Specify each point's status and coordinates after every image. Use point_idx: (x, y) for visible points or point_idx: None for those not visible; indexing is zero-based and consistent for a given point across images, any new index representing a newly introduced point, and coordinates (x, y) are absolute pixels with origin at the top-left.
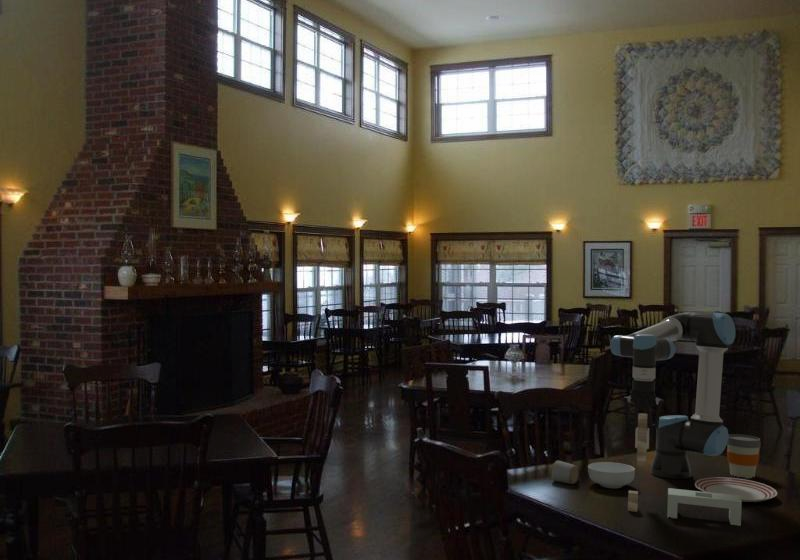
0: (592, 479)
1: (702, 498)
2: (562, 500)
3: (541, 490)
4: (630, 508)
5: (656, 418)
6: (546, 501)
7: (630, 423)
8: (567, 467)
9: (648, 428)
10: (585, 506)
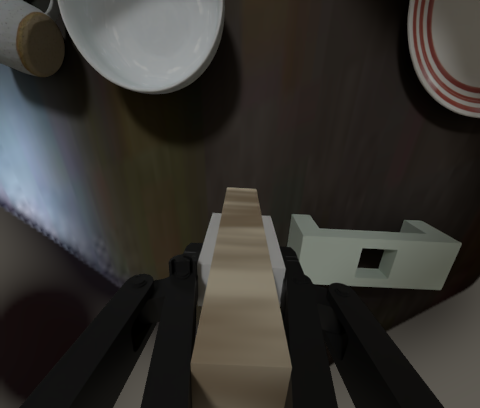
0: (105, 53)
1: (364, 285)
2: (87, 215)
3: (18, 153)
4: None
5: (357, 395)
6: (62, 232)
7: (153, 319)
8: (4, 55)
9: (279, 268)
10: (138, 239)
